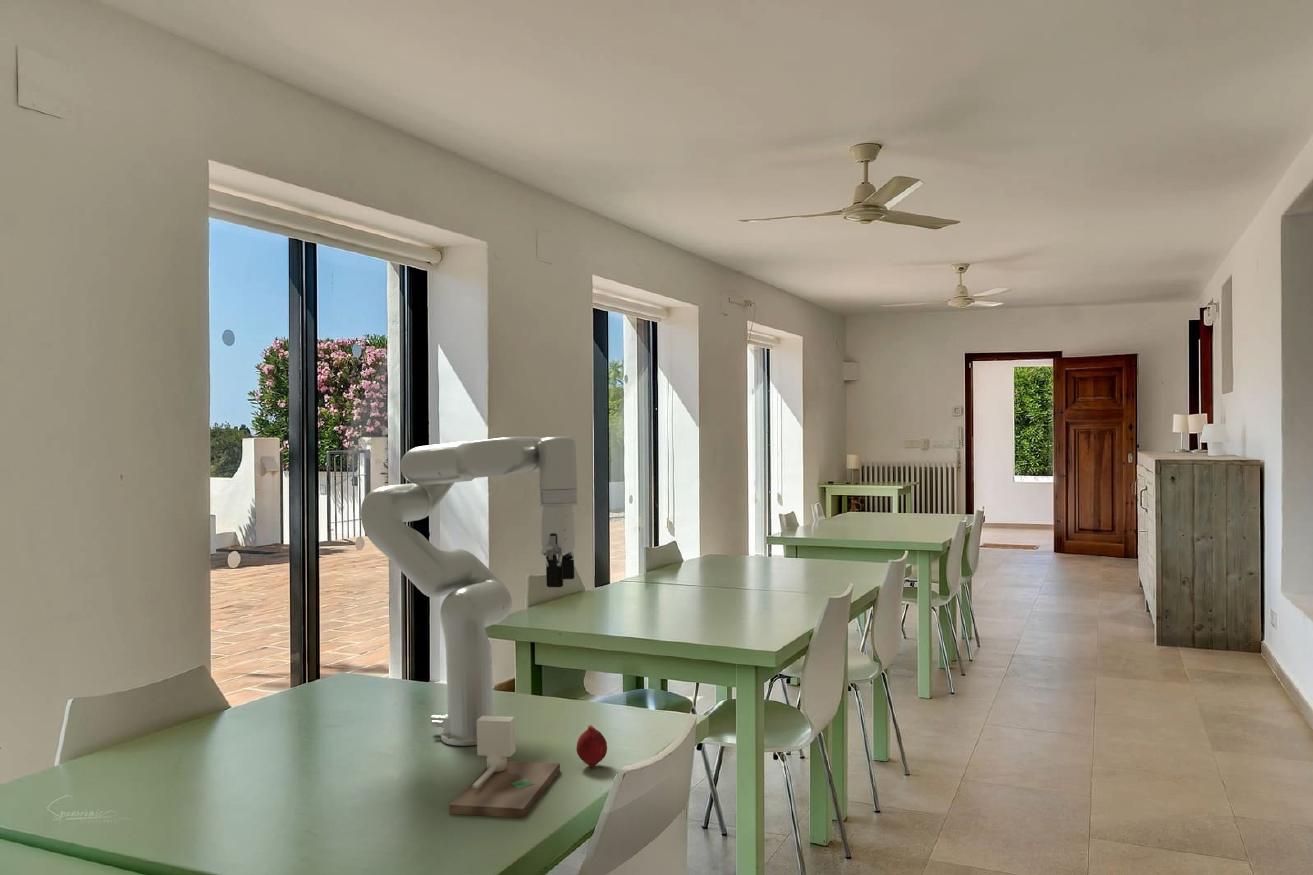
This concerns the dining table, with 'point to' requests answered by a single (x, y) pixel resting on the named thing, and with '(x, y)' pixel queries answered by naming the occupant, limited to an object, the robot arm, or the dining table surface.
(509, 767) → the board
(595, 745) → the onion
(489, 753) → the tuning peg
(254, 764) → the dining table surface
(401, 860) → the dining table surface
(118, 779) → the dining table surface
